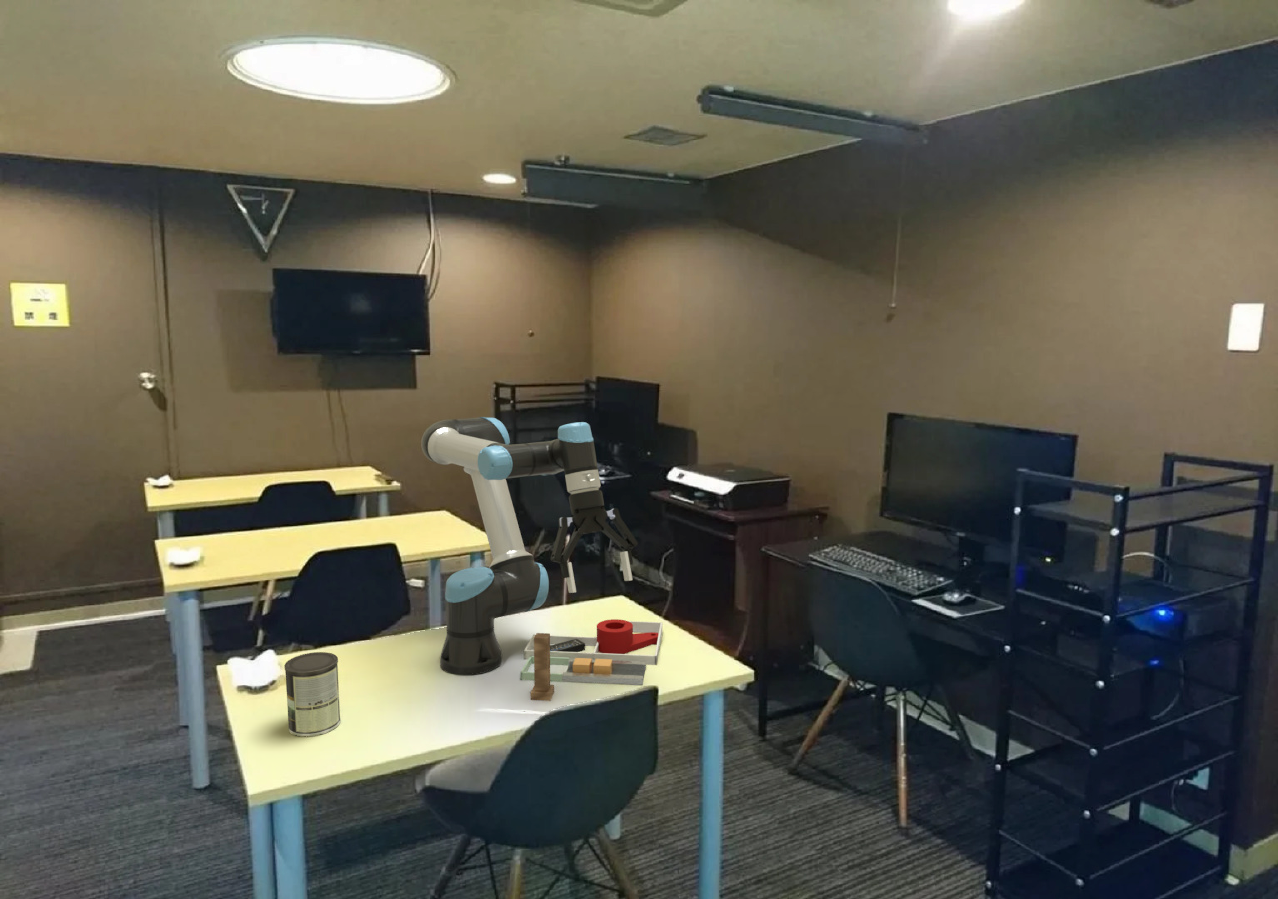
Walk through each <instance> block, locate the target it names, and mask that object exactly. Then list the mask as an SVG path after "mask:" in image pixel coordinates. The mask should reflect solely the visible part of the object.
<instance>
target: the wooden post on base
mask: <svg viewBox="0 0 1278 899" xmlns="http://www.w3.org/2000/svg"><path fill="white" fill-rule="evenodd" d="M534 635H535V637H534V646H533V650H534V665H533V667H534V668H533V670H534V671H533V672H534V680H533V681H534V682H533V683H534V685H533V687H532V689H531V691H530V700H531V701H546V702H547V701H548V702H551V700H552V698H553V695H554V694H555V684H551V681H550V673H551V664H550V646H551V644H550V635H551V633H547V632H546V633H545V632H536V634H534Z"/></svg>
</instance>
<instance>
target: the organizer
mask: <svg viewBox="0 0 1278 899" xmlns="http://www.w3.org/2000/svg"><path fill="white" fill-rule="evenodd" d="M627 621H628V622H630V623H632V624H633V633H650V632H656V633H659V635H658V641H657V645H655V646H656V647H655V653H654V655H652V654H629V653H626V654H609V653H601V652H599V643H598V642H597V636H575V635H573V636H571V635H551V634H550V645H555V644H558V643H562V642H566V641H570V640H574V639H578V640H580V641H581V642H583V643H585V647H586V646H587V647H594V649H593V652H586V651H585V652H584V651H580V652H561V651H550V657H564V658H570V659H575V658H590V659H592V660H596V659H612V660H616V661H639V662H646V666H647V665H648V666H649V665H650V666H657V664H658V658H659V653H660V647H661V643H662V638H663V637H662V636H663V622H662V621H661V622H659V621H639V620H638V621H635V620H634V621H633V620H627ZM535 635H536V634H533V635H532V637H531V638H530V639H529V642H528V643H527V645H526V647H525V648H524V650H523V660H528V659H529V657H530V656H534V637H535Z"/></svg>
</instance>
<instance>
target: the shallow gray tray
mask: <svg viewBox="0 0 1278 899" xmlns="http://www.w3.org/2000/svg"><path fill="white" fill-rule="evenodd" d="M574 660H575V659H569V661H568V665H567V666H568V668H567V670H566V672H565V671H563V673H562V674H563V675H562V682H563V683H565V682H566V683H582V684H583V683H585V684H587V683H588V684H606V685H609V684H610V685H611V684H612V685H630V686H631V685H634V686H643V683H644V680H645V675H646V669H647V665H646V662H639V661H616V660H612V673H611V674H593V665H594V663H595V660H592V671H591V673H573V663H574Z"/></svg>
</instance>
